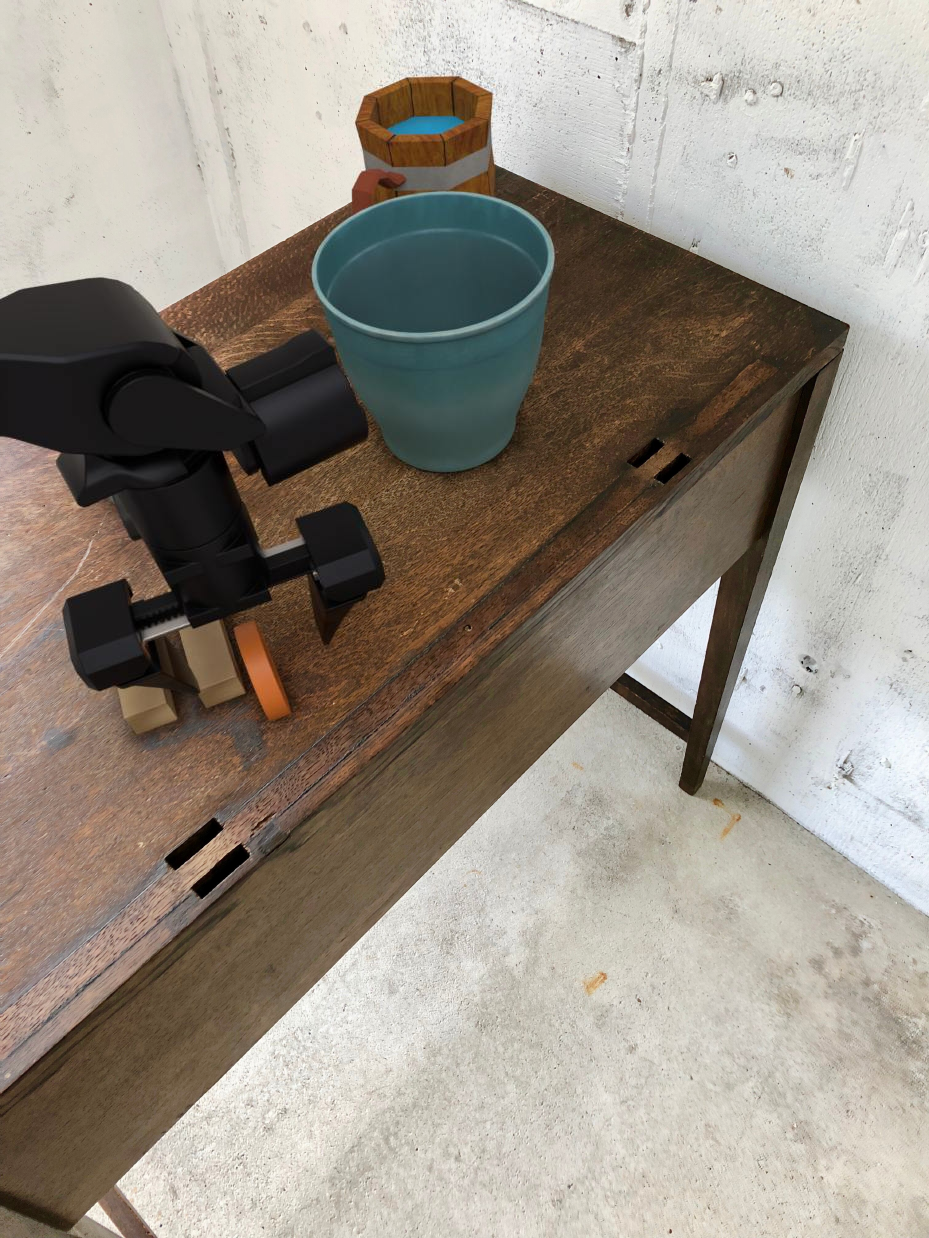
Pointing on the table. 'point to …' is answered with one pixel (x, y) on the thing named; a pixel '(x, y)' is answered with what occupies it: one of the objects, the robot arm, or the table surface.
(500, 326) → the flower pot
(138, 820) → the table surface
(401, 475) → the table surface
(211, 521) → the robot arm
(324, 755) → the table surface
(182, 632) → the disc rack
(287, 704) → the disc
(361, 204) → the mug
